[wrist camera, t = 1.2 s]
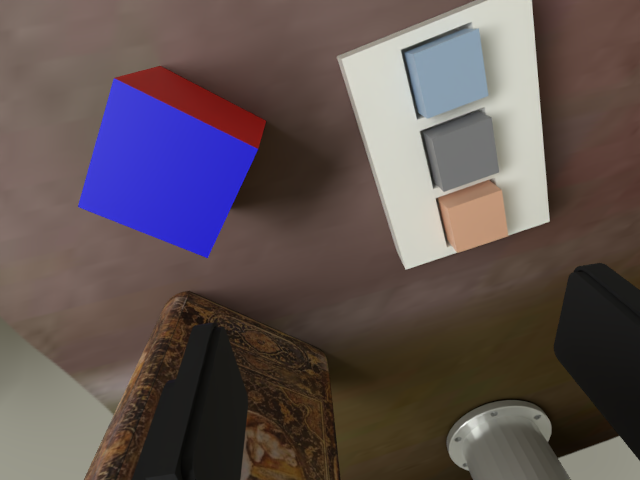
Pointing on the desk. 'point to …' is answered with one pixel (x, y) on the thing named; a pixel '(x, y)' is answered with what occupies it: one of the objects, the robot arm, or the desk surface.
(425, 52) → the slate blue button
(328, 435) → the book
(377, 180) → the button panel
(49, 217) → the desk surface
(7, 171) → the desk surface
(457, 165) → the charcoal button
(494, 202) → the terracotta button
